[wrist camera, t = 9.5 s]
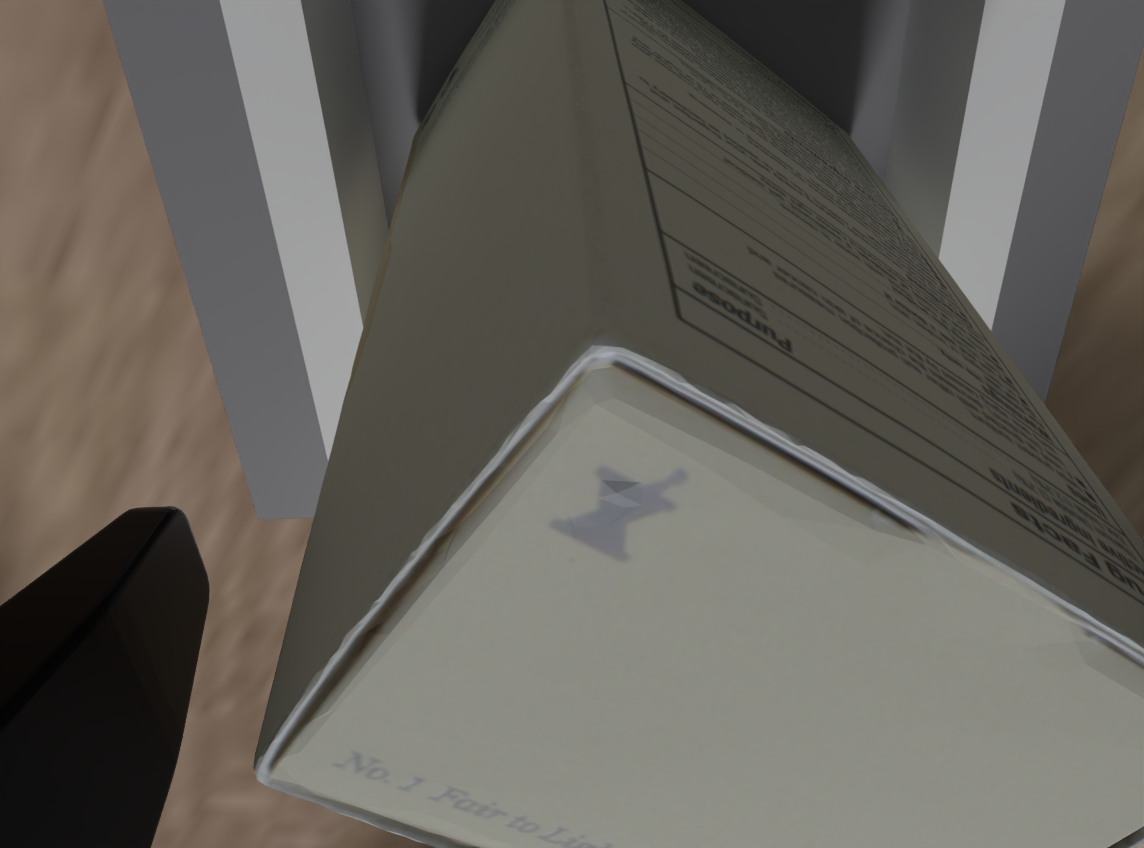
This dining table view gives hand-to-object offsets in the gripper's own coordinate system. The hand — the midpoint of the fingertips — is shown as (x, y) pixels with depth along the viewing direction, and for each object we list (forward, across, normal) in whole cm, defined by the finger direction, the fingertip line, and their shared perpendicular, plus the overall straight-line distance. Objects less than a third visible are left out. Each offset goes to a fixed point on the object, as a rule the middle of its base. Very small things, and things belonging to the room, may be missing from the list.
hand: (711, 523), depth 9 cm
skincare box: (+10, 0, 0) cm, 10 cm away
